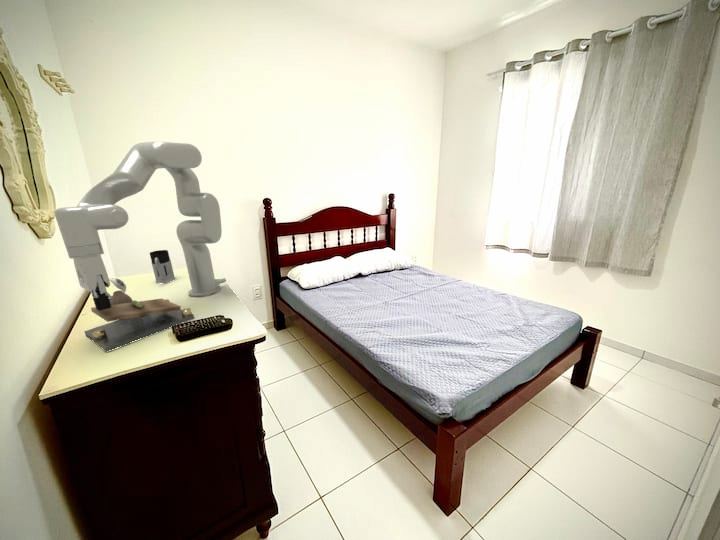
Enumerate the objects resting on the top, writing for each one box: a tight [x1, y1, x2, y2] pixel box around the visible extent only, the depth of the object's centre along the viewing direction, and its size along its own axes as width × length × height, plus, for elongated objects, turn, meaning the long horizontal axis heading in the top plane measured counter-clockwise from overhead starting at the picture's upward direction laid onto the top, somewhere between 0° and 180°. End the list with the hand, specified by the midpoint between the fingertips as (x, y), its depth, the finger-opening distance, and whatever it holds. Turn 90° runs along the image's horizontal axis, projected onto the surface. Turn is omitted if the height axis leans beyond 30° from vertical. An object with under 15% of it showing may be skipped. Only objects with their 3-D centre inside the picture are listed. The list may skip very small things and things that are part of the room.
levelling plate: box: [90, 298, 182, 323], centre depth 96 cm, size 20×14×3 cm
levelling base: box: [83, 298, 195, 352], centre depth 97 cm, size 25×19×6 cm
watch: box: [107, 277, 127, 301], centre depth 115 cm, size 6×8×11 cm
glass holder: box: [149, 249, 177, 284], centre depth 139 cm, size 9×14×15 cm, turn 24°
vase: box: [110, 289, 134, 305], centre depth 107 cm, size 7×7×9 cm
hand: (104, 308), depth 88 cm, fingers closed
